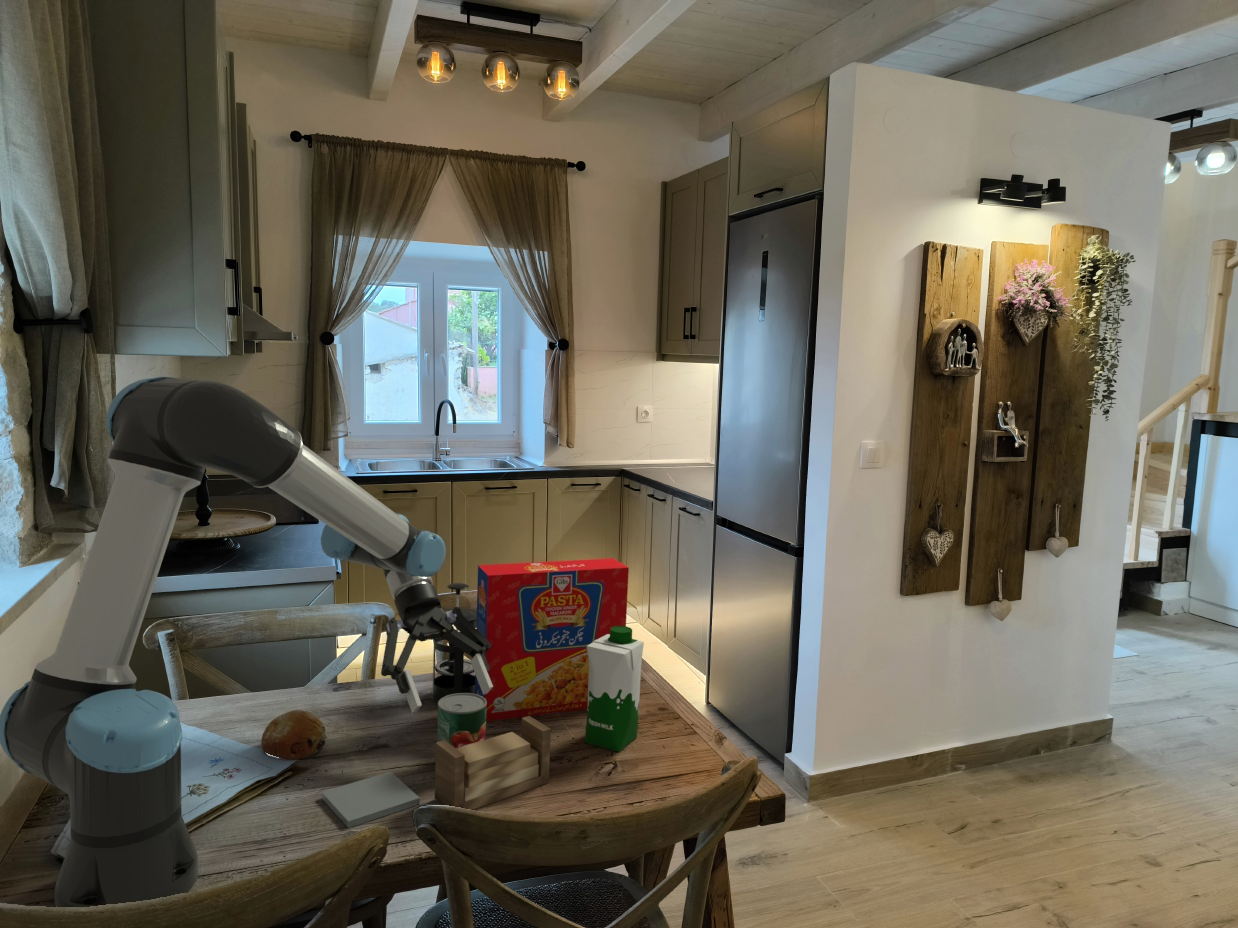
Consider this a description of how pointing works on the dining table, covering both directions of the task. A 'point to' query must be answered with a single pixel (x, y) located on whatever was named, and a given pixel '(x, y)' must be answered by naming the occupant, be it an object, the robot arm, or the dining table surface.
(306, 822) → the dining table surface
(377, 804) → the grey tile
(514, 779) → the offcut stack
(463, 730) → the canned tomato
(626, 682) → the milk carton
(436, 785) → the walnut rack
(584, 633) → the pasta box
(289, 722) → the bread roll
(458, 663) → the french press
